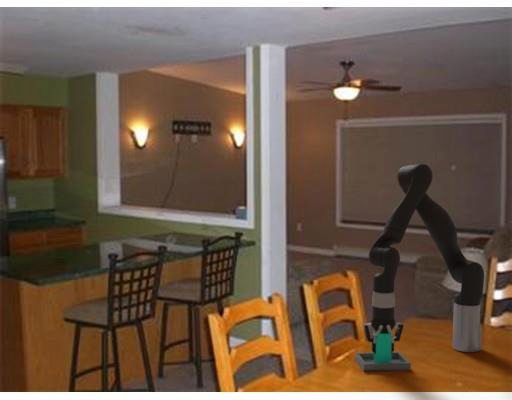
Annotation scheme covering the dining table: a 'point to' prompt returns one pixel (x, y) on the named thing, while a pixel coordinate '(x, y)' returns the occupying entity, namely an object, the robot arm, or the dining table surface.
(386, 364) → the tray
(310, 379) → the dining table surface
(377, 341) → the candle
